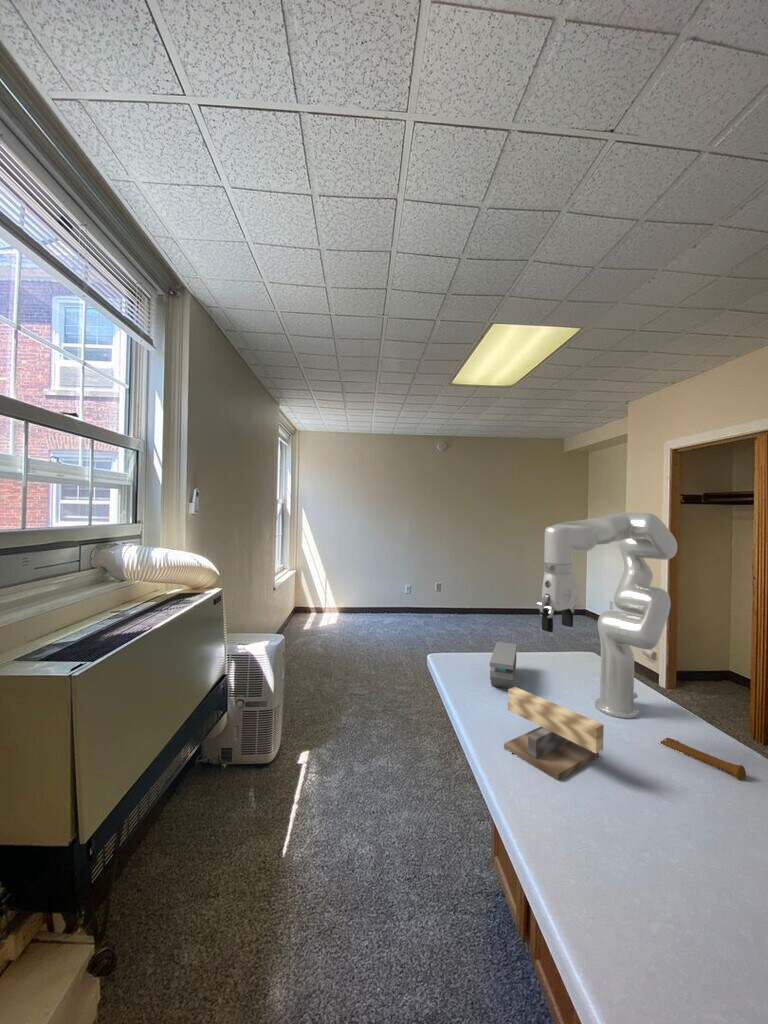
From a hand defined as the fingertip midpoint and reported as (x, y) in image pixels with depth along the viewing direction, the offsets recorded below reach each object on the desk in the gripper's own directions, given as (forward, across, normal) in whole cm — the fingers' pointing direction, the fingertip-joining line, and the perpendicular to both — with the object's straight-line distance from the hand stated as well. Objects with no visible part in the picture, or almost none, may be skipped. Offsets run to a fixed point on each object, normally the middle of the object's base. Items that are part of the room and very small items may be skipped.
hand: (557, 628), depth 121 cm
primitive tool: (+31, +20, -28) cm, 46 cm away
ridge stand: (+30, -10, -5) cm, 32 cm away
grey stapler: (+31, +17, +33) cm, 48 cm away
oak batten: (+24, -10, -5) cm, 26 cm away
